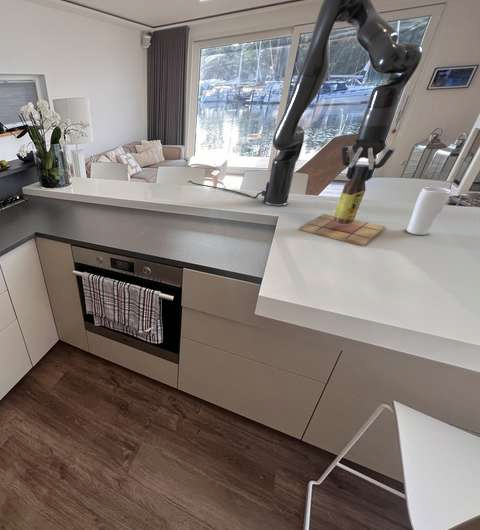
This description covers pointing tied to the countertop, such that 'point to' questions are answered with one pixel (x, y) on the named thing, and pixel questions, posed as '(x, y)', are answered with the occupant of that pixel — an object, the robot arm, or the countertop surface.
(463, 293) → the countertop surface
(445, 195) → the drinking glass
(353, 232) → the board
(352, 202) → the sauce bottle
